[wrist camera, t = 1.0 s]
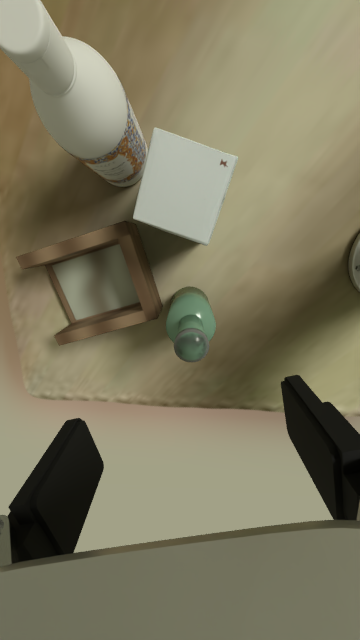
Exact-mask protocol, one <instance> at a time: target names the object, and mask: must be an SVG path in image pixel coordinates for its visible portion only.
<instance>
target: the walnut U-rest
mask: <svg viewBox="0 0 360 640" xmlns="http://www.w3.org/2000/svg"><path fill="white" fill-rule="evenodd" d="M16 258H17V260H18V262H19V264H20V266H21V268H22V269H27V268H33V267H39V266H46V268H47V271H48V273H49V275H50V277H51V279H52V282H53V284H54V286H55V288H56V290H57V293H58V295H59V297H60V299H61V301H62V303H63V306H64V308H65V310H66V312H67V314H68V317H69V319H70V321H71V324H70V325H69V326H67V327H66V328H64V329H63V330H61V331H60V332H59V333H57V334H56V335H54V336H55V338H56V340H57V342H58V344H59V346H60V345H63V344H67V343H70V342H74V341H78V340H81V339H85V338H88V337H92V336H96V335H99V334H103V333H107V332H110V331H114V330H117V329H121V328H125V327H128V326H132V325H135V324H139V323H143V322H146V321H150V320H153V319H157V318H158V317H159V314H160V312H161V309H162V307H163V306H162V303H161V300H160V297H159V294H158V291H157V287H156V284H155V281H154V278H153V275H152V272H151V269H150V266H149V263H148V260H147V257H146V254H145V251H144V248H143V245H142V242H141V239H140V236H139V233H138V229H137V226H136V224H133V223H130V222H127V221H123V222H120V223H117V224H114V225H111V226H108V227H105V228H102V229H99V230H96V231H93V232H90V233H87V234H84V235H81V236H78V237H75V238H72V239H69V240H66V241H63V242H60V243H57V244H54V245H51V246H48V247H45V248H42V249H39V250H36V251H33V252H30V253H27V254H24V255H21V256H18V257H16Z"/></svg>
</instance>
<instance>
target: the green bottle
mask: <svg viewBox="0 0 360 640" xmlns="http://www.w3.org/2000/svg"><path fill="white" fill-rule="evenodd" d="M215 328H216V323H215V319H214V316H213V313H212V310H211V307H210V304H209V302H208V299H207V297H206V295H205V294H204V292H203V291H201V290H200V289H198V288H195V287H185V288H182V289H180V290H179V291H178V292H176V294H175V295H174V297H173V299H172V302H171V306H170V310H169V313H168V317H167V321H166V330H167V334H168V336H169V338H170V339H171V340H172V341H173V342H174V350H175V353H176V355H177V356H178V357H179V358H180V359H182V360H184V361H186V362H197V361H199V360H201V359H203V358H204V357H205V356H206V355H207V353H208V350H209V341H210V340H211V338H212V337H213V335H214V332H215Z"/></svg>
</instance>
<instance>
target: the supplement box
mask: <svg viewBox="0 0 360 640" xmlns="http://www.w3.org/2000/svg"><path fill="white" fill-rule="evenodd" d="M237 160H238V156H235V155H232V154H229V153H226V152H223V151H220V150H217V149H214V148H211V147H208V146H206V145H203V144H200V143H197V142H194V141H192V140H189V139H186V138H183V137H181V136H178V135H175V134H173V133H170V132H167V131H164V130H162V129H159V128H154V130H153V134H152V137H151V141H150V145H149V149H148V154H147V158H146V162H145V166H144V170H143V175H142V179H141V183H140V188H139V192H138V196H137V200H136V205H135V209H134V214H133V219H135V220H137V221H140V222H142V223H145V224H147V225H150V226H152V227H155V228H158V229H160V230H163V231H166V232H169V233H171V234H174V235H177V236H180V237H183V238H186V239H188V240H191V241H194V242H197V243H200V244H203V245H208V244H209V242H210V239H211V236H212V233H213V230H214V227H215V224H216V221H217V218H218V216H219V213H220V210H221V207H222V204H223V202H224V199H225V195H226V192H227V189H228V186H229V183H230V180H231V178H232V175H233V172H234V169H235V166H236V163H237Z"/></svg>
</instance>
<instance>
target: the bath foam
mask: <svg viewBox="0 0 360 640" xmlns="http://www.w3.org/2000/svg"><path fill="white" fill-rule="evenodd" d="M0 48H1V49H2V51H3V52H4V53H5V54H6V55H7V56H8V57H9V58H10V59H11V60H12V61H13V62H14V63H15V64H16V65H17V66H18V67H19V68H20V69H21V70H22V71H23V72H24V73H25V74H26V75H27V76H28V77H29V79H30V89H31V94H32V98H33V102H34V105H35V108H36V111H37V113H38V115H39V117H40V119H41V121H42V123H43V124H44V126H45V128H46V129H47V131H48V132H49V133H50V135H51V136H52V137H53V138H54V140H55V141H56V142H57V143H58V144H59V145H60V146H61V147H62V148H63V149H64V150H66V151H67V152H68V153H70V154H71V155H72V156H74V157H75V158H76V159H78V160H79V161H80V162H82V163H83V164H84V165H86V166H87V167H88V168H90V169H91V170H92V171H94V172H95V173H96V174H98V175H99V176H100V177H102V178H103V179H105V180H106V181H107V182H109V183H111V184H113V185H115V186H120V187H126V186H130V185H133V184H135V183H136V182H138V181H139V180H140V179H141V178H142V175H143V170H144V166H145V162H146V158H147V154H148V149H147V145H146V142H145V139H144V137H143V134H142V132H141V129H140V127H139V125H138V122H137V120H136V117H135V115H134V113H133V110H132V108H131V105H130V103H129V101H128V98H127V96H126V93H125V91H124V89H123V86H122V84H121V82H120V80H119V78H118V77H117V75H116V74H115V72H114V70H113V69H112V68H111V66H110V65H109V64H108V62H107V61H106V60H105V59H104V58H103V57H102V56H101V55H100V54H99V53H98V52H97V51H96V50H95V49H93V48H92V47H90V46H89V45H87V44H86V43H84V42H82V41H80V40H77V39H74V38H70V37H63V36H62V35H61V34H60V32H59V30H58V29H57V27H56V25H55V24H54V22H53V21H52V19H51V17H50V16H49V14H48V12H47V11H46V9H45V7H44V6H43V4H42V2H41V1H40V0H0Z"/></svg>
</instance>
